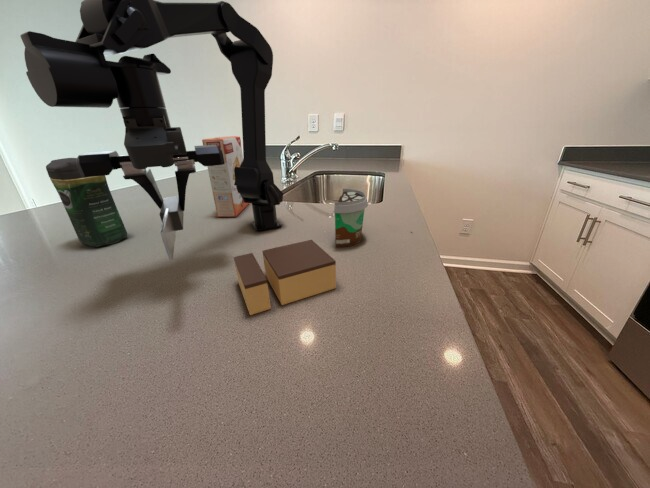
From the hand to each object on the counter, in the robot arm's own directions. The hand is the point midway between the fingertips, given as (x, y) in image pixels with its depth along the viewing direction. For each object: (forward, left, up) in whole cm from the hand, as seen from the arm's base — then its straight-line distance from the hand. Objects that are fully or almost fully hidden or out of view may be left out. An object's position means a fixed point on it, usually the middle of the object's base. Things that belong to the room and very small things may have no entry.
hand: (174, 211), depth 44 cm
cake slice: (+15, +9, -11) cm, 20 cm away
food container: (+4, +33, -11) cm, 35 cm away
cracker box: (-32, +13, -11) cm, 36 cm away
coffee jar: (-24, -18, -11) cm, 32 cm away
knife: (+7, 0, -1) cm, 7 cm away
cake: (+15, +16, -11) cm, 25 cm away
